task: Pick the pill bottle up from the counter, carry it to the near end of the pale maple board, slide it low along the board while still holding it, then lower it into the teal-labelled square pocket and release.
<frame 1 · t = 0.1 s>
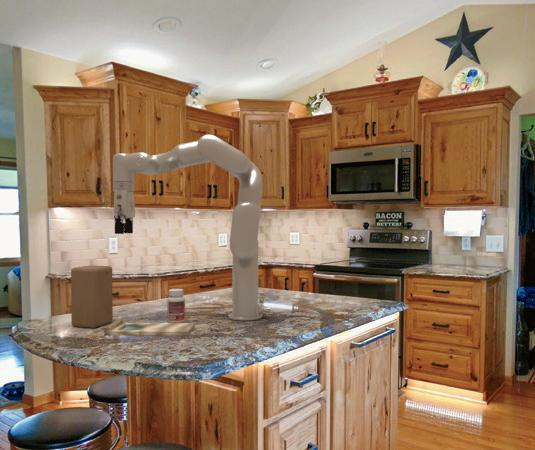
hand: (124, 233, 169), 31 cm above the counter, fingers open, 9 cm apart
pill bottle: (176, 322, 162), on the counter
board: (151, 330, 148), on the counter
wooden block: (92, 325, 158), on the counter
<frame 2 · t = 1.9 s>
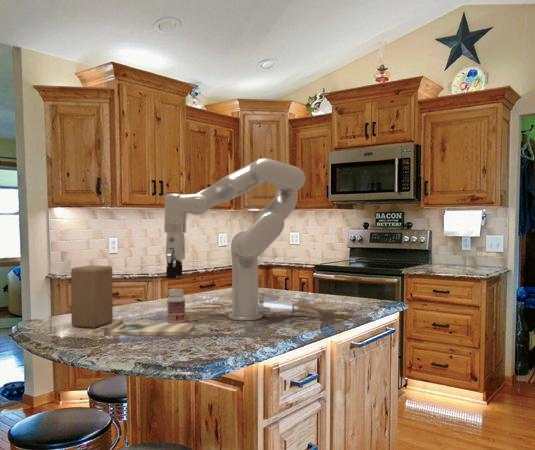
hand: (174, 276, 161), 16 cm above the counter, fingers open, 9 cm apart
nothing on the counter moved.
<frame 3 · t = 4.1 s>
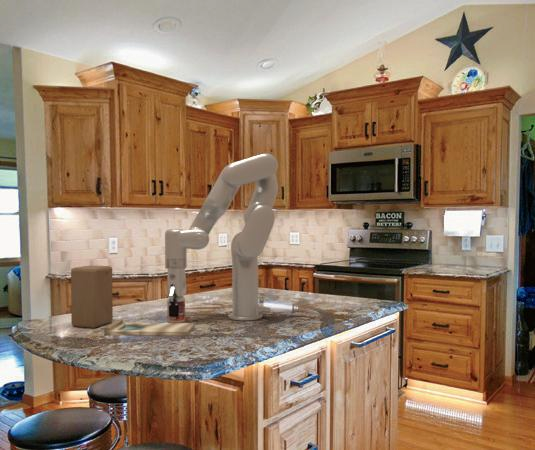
hand: (176, 314, 162), 3 cm above the counter, fingers closed on pill bottle, 6 cm apart
pill bottle: (176, 322, 162), on the counter, touching gripper
everything else where it was.
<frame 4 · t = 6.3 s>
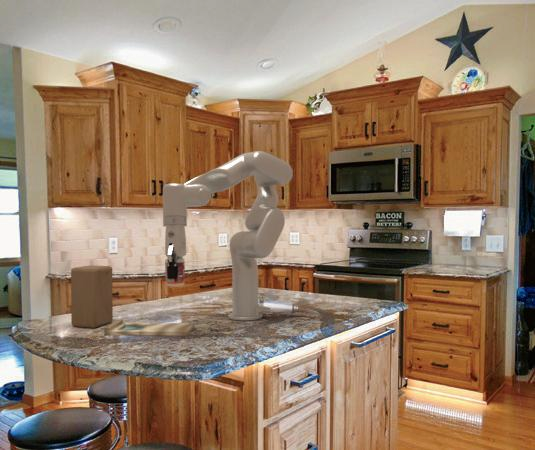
hand: (175, 276, 148), 17 cm above the counter, fingers closed on pill bottle, 6 cm apart
pill bottle: (175, 285, 148), point 15 cm above the counter, touching gripper
everything else where it was.
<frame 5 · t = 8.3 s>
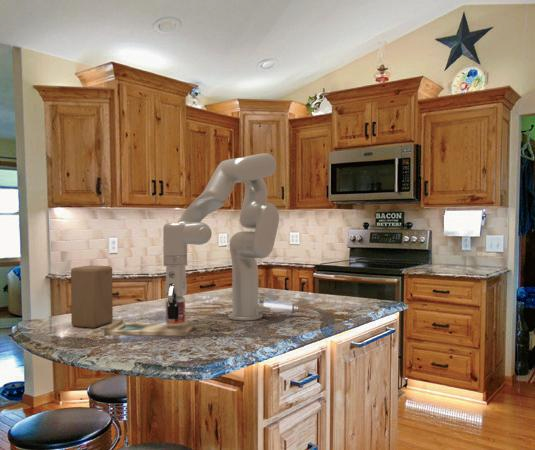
hand: (175, 316, 148), 5 cm above the counter, fingers closed on pill bottle, 6 cm apart
pill bottle: (175, 324, 148), point 2 cm above the counter, touching gripper
everything else where it was.
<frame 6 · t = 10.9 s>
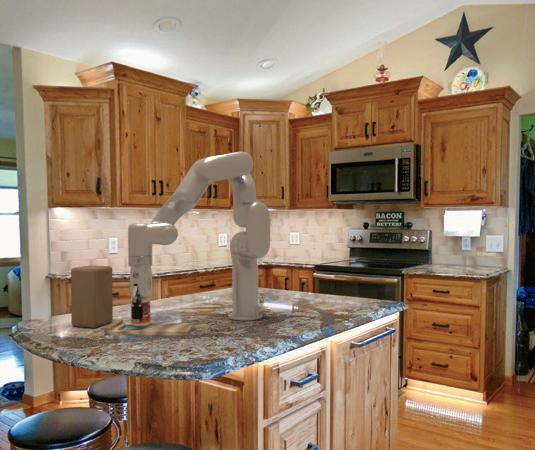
hand: (140, 316, 148), 5 cm above the counter, fingers closed on pill bottle, 6 cm apart
pill bottle: (140, 324, 148), point 2 cm above the counter, touching gripper
everything else where it was.
when the fingers open (3 cm above the counter, at t = 13.0 s): pill bottle stays where it is, resting on board.
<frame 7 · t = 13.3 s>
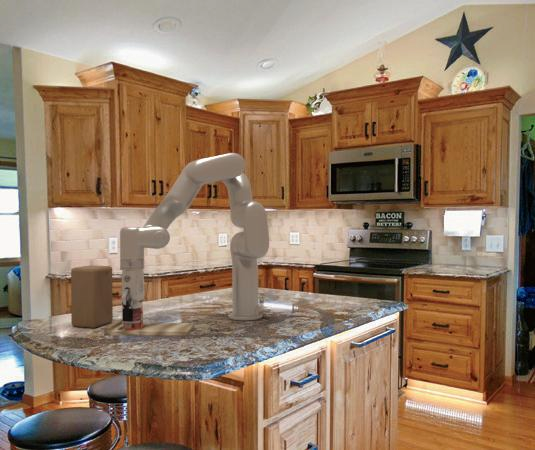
hand: (132, 317, 148), 4 cm above the counter, fingers open, 9 cm apart
pill bottle: (133, 330, 148), resting on board
everything else where it was.
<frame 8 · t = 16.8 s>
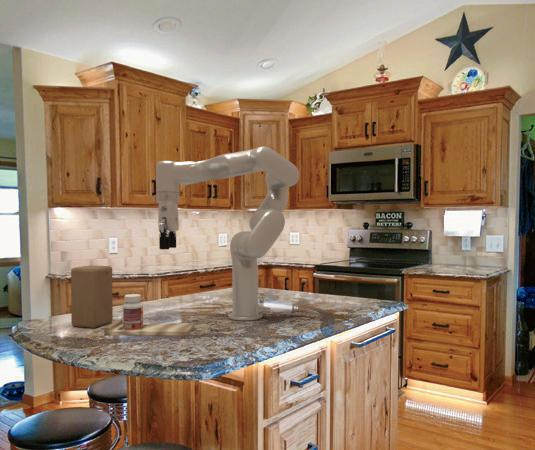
hand: (168, 248, 155), 26 cm above the counter, fingers open, 9 cm apart
nothing on the counter moved.
at the end: pill bottle 0.1 cm from the target spot, resting on board; pill bottle tilted 0°; the gripper is holding nothing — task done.
